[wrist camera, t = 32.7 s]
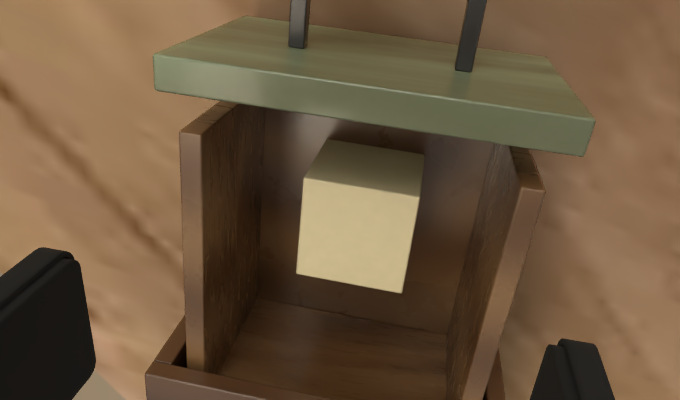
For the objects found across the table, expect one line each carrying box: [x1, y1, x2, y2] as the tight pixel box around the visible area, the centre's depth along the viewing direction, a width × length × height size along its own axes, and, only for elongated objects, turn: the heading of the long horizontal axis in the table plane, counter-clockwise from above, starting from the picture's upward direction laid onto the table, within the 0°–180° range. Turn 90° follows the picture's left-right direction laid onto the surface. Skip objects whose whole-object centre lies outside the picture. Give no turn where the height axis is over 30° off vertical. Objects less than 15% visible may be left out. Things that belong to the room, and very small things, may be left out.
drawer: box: [153, 0, 596, 400], centre depth 23 cm, size 20×13×9 cm, turn 174°
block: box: [296, 139, 424, 293], centre depth 24 cm, size 5×5×5 cm
